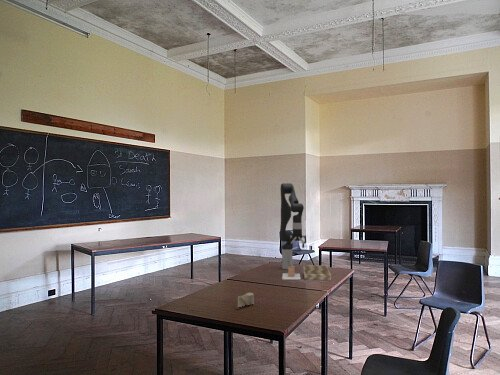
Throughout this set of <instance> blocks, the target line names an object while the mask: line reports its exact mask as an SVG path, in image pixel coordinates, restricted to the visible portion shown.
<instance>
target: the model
mask: <svg viewBox="0 0 500 375" xmlns="http://www.w3.org/2000/svg"><path fill="white" fill-rule="evenodd" d="M254 298H255V294H254V292H247V293H245V294H243V295H238V297H237V308H238V307H241V308H243V307H246V306H248V305H252V304H254V305H255V300H254ZM245 305H246V306H245ZM242 306H243V307H242Z"/></svg>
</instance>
